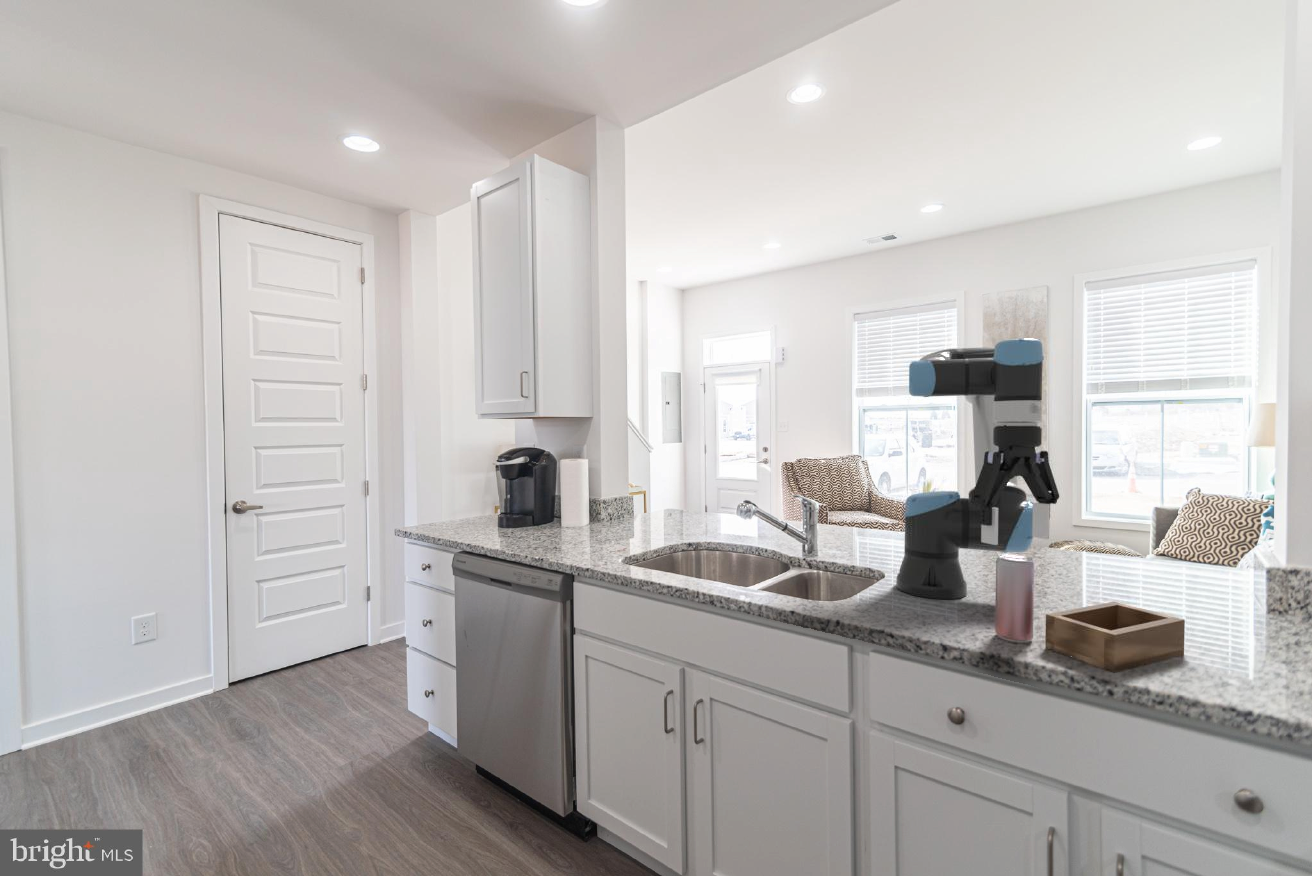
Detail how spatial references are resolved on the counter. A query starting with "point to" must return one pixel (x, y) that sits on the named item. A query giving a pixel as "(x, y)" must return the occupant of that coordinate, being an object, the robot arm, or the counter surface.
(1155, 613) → the tray
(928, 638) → the counter surface
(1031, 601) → the beverage can
